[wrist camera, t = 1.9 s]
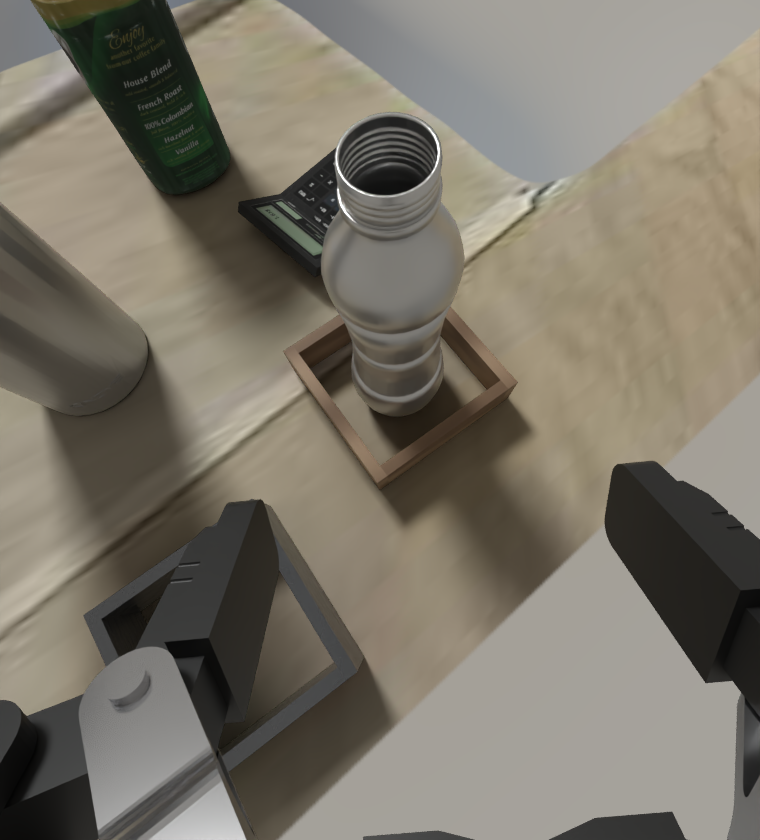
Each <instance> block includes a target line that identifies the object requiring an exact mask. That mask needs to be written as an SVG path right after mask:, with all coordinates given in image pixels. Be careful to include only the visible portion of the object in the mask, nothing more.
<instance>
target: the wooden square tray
mask: <svg viewBox="0 0 760 840" xmlns="http://www.w3.org/2000/svg"><path fill="white" fill-rule="evenodd" d="M440 335H441V336H442V337H443V339H444V340H445V341H446V342H447V343H448V344H449V346H450V347H451V348H452V349H453V350H454V351H455V353H456V354H457V355H458V356H459V357H460V358H461V360H462V361H463V362H464V363H465V364H466V365H467V367H468V368H469V369H470V370H471V371H472V372H473V374H474V375H475V376H476V377H477V378H478V379H479V381H480V382H481V383H482V384H483V385H484V386H485V388H486V389H487V390H486V391H485V392H483V393H482V394H481V395H479V396H478V397H476V398H475V399H473V400H472V401H471V402H469V403H468V404H466V405H465V406H464V407H462V408H461V409H459V410H458V411H457V412H455V413H454V414H452V415H451V416H450V417H448V418H447V419H445V420H444V421H443V422H441V423H440V424H438V425H437V426H436V427H434V428H433V429H431V430H430V431H429V432H427V433H426V434H424V435H423V436H422V437H420V438H419V439H417V440H416V441H414V442H413V443H412V444H410V445H409V446H407V447H406V448H405V449H403V450H402V451H400V452H399V453H398V454H396V455H395V456H393V457H392V458H391V459H389V460H388V461H386V462H385V463H384V464H382V465H381V466H380V465H379V464H378V462H377V461H376V460H375V458H374V457H373V455H372V454H371V453H370V451H369V450H368V449H367V447H366V446H365V444H364V443H363V442H362V440H361V439H360V437H359V436H358V435H357V433H356V432H355V431H354V429H353V428H352V426H351V425H350V424H349V422H348V421H347V420H346V418H345V417H344V415H343V414H342V413H341V411H340V410H339V409H338V407H337V406H336V404H335V403H334V402H333V400H332V399H331V397H330V396H329V395H328V393H327V392H326V391H325V389H324V388H323V386H322V385H321V384H320V382H319V381H318V380H317V378H316V377H315V375H314V374H313V373H312V371H311V370H310V368H312V367H313V366H315V365H316V364H318V363H319V362H321V361H322V360H324V359H325V358H327V357H328V356H330V355H331V354H333V353H334V352H336V351H337V350H339V349H340V348H342V347H343V346H345V345H346V344H348V343H349V342H351V337H350V335H349V332H348V330H347V327H346V325H345V323H344V321H343V320H342V318H341V316H340V315H338V316H336V317H335V318H333V319H332V320H330V321H329V322H327V323H326V324H324V325H323V326H321V327H320V328H318V329H316V330H315V331H313V332H312V333H310V334H309V335H307V336H306V337H304V338H303V339H301V340H299V341H298V342H296V343H295V344H293V345H292V346H290V347H289V348H287V349H286V350H284V351H283V352H284V354H285V355H286V357H287V359H288V360H289V362H290V364H291V366H292V367H293V369H294V370H295V372H296V373H297V374H298V376H299V377H300V379H301V380H302V381H303V383H304V384H305V386H306V387H307V389H308V390H309V391H310V393H311V394H312V396H313V397H314V398H315V400H316V401H317V403H318V404H319V405H320V407H321V408H322V410H323V411H324V412H325V414H326V415H327V417H328V418H329V419H330V421H331V422H332V424H333V425H334V426H335V428H336V429H337V431H338V432H339V433H340V435H341V436H342V438H343V439H344V440H345V442H346V443H347V445H348V446H349V448H350V449H351V450H352V452H353V453H354V455H355V456H356V457H357V459H358V460H359V462H360V463H361V464H362V466H363V467H364V469H365V470H366V471H367V473H368V474H369V476H370V477H371V478H372V480H373V481H374V483H375V484H376V485H377V487H378V488H379V490H381V489H382V488H383V487H385V486H386V485H387V484H389V483H390V482H392V481H393V480H394V479H396V478H397V477H399V476H400V475H401V474H403V473H404V472H406V471H407V470H408V469H410V468H411V467H412V466H414V465H415V464H417V463H418V462H419V461H421V460H422V459H424V458H425V457H426V456H428V455H429V454H431V453H432V452H433V451H435V450H436V449H437V448H439V447H440V446H442V445H443V444H444V443H446V442H447V441H449V440H450V439H451V438H453V437H454V436H456V435H457V434H458V433H460V432H461V431H462V430H464V429H465V428H467V427H468V426H469V425H471V424H472V423H474V422H475V421H476V420H478V419H479V418H481V417H482V416H483V415H485V414H486V413H487V412H489V411H490V410H492V409H493V408H494V407H496V406H497V405H499V404H500V403H501V402H503V401H504V400H505V399H507V398H508V397H509V395H510V394H511V392H512V391H513V389H514V387H515V386H516V384H517V383H518V382H517V381H516V380H515V379H514V378H513V377H512V375H511V374H510V373H509V372H508V371H507V370H506V369H505V368H504V366H503V365H502V364H501V363H500V362H499V361H498V360H497V358H496V357H495V356H494V355H493V354H492V353H491V352H490V351H489V349H488V348H487V347H486V346H485V345H484V344H483V343H482V342H481V340H480V339H479V338H478V337H477V336H476V335H475V334H474V333H473V331H472V330H471V329H470V328H469V327H468V326H467V325H466V324H465V322H464V321H463V320H462V319H461V318H460V317H459V316H458V315H457V313H456V312H455V311H454V310H453V309H452V308H451V307H450V308H449V310H448V312H447V314H446V317H445V319H444V322H443V326H442V330H441V334H440Z"/></svg>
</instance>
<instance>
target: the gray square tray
mask: <svg viewBox="0 0 760 840" xmlns="http://www.w3.org/2000/svg"><path fill="white" fill-rule="evenodd" d="M251 500H254V499H251ZM249 501H250V500H249ZM265 507H266V510H267V514H268V517H269V521H270V524H271V528H272V531H273V535H274V539H275V542H276V546H277V550H278V556H279V571H280V572H281V574H282V576H283V577H284V579H285V581H286V582H287V584H288V586H289V587H290V589H291V591H292V592H293V594H294V596H295V597H296V599H297V601H298V602H299V604H300V606H301V607H302V609H303V611H304V612H305V614H306V616H307V617H308V619H309V621H310V622H311V624H312V626H313V627H314V629H315V631H316V632H317V634H318V636H319V637H320V639H321V641H322V642H323V644H324V646H325V647H326V649H327V651H328V652H329V654H330V656H331V657H332V659H333V661H334V663H333V664H331V665H330V666H329V667H328V668H326V669H325V670H324V671H322V672H321V673H320V674H318V675H317V676H316V677H315V678H313V679H312V680H311V681H309V682H308V683H307V684H305V685H304V686H303V687H302V688H300V689H299V690H298V691H296V692H295V693H294V694H292V695H291V696H290V697H289V698H287V699H286V700H285V701H283V702H282V703H281V704H279V705H278V706H277V707H276V708H274V709H273V710H272V711H270V712H269V713H268V714H266V715H265V716H264V717H263V718H261V719H260V720H259V721H257V722H256V723H255V724H253V725H252V726H251V727H250V728H248V729H247V730H246V731H244V732H243V733H242V734H240V735H239V736H238V737H237V738H235V739H234V740H233V741H231V742H230V743H229V744H227V745H226V746H225V747H224V748H222V749H221V750H220V752H221V755H222V757H223V759H224V762H225V764H226V766H227V769H228V771H231V770H232V769H233V768H234V767H236V766H237V765H238V764H240V763H241V762H242V761H243V760H245V759H246V758H247V757H249V756H250V755H251V754H252V753H254V752H255V751H256V750H258V749H259V748H260V747H261V746H263V745H264V744H265V743H267V742H268V741H269V740H270V739H272V738H273V737H274V736H276V735H277V734H278V733H279V732H281V731H282V730H283V729H285V728H286V727H287V726H288V725H290V724H291V723H292V722H294V721H295V720H296V719H297V718H299V717H300V716H301V715H302V714H304V713H305V712H306V711H308V710H309V709H310V708H311V707H313V706H314V705H315V704H317V703H318V702H319V701H320V700H322V699H323V698H324V697H326V696H327V695H328V694H329V693H331V692H332V691H333V690H335V689H336V688H337V687H338V686H340V685H341V684H342V683H344V682H345V681H346V680H347V679H349V678H350V677H351V676H353V675H354V674H355V673H356V672H358V670H359V667H360V665H361V662H362V660H363V658H364V655H363V654H362V652H361V650H360V649H359V647H358V646H357V644H356V642H355V641H354V639H353V638H352V636H351V634H350V633H349V631H348V630H347V628H346V626H345V625H344V623H343V622H342V620H341V618H340V617H339V615H338V614H337V612H336V610H335V609H334V607H333V605H332V604H331V602H330V601H329V599H328V597H327V596H326V594H325V593H324V591H323V589H322V588H321V586H320V585H319V583H318V581H317V580H316V578H315V577H314V575H313V573H312V572H311V570H310V569H309V567H308V565H307V564H306V562H305V560H304V559H303V557H302V556H301V554H300V552H299V551H298V549H297V548H296V546H295V544H294V543H293V541H292V540H291V538H290V536H289V535H288V533H287V532H286V530H285V528H284V527H283V525H282V524H281V522H280V520H279V519H278V517H277V515H276V514H275V512H274V511H273V509H272V507H271V506H269V505H267V504H265ZM213 526H217V523H216V524H215V525H213ZM213 526H212V527H213ZM190 542H191V541H190ZM190 542H189V543H190ZM189 543H187V544H186V545H184V546H183V547H181V548H180V549H179V550H177V551H176V552H174V553H173V554H171V555H170V556H168V557H167V558H166V559H164V560H163V561H161V562H160V563H158V564H157V565H155V566H154V567H153V568H151V569H150V570H148V571H147V572H145V573H144V574H142V575H141V576H140V577H138V578H137V579H135V580H134V581H132V582H131V583H129V584H128V585H127V586H125V587H124V588H122V589H121V590H119V591H118V592H116V593H115V594H114V595H112V596H111V597H109V598H108V599H106V600H105V601H103V602H102V603H100V604H99V605H98V606H96V607H95V608H93V609H92V610H90V611H89V612H87V613H86V614H85V615H83V616H84V618H85V620H86V622H87V625H88V627H89V629H90V631H91V634H92V636H93V638H94V640H95V643H96V645H97V647H98V649H99V651H100V654H101V656H102V658H103V660H104V663H105V665H106V666H108V665H109V664H110V663H111V662H113V661H114V660H116V659H117V658H119V657H121V656H122V655H124V654H126V653H128V652H131V651H133V650H135V649H136V647H137V645H138V643H139V641H140V639H141V637H142V635H143V633H144V631H145V629H146V627H147V624H146V622H145V620H144V618H143V616H142V614H141V612H140V611H141V610H143V609H144V608H145V607H147V606H148V605H150V604H151V603H153V602H154V601H155V600H157V599H158V598H160V597H161V596H162V595H163V593H164V591H165V589H166V588H167V586H168V584H170V583H171V578H172V576H173V574H174V572H175V570H176V568H177V567H179V562H180V560H181V558H182V556H183V554H184V552H185V550H186V548H187V546H188V544H189Z"/></svg>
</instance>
